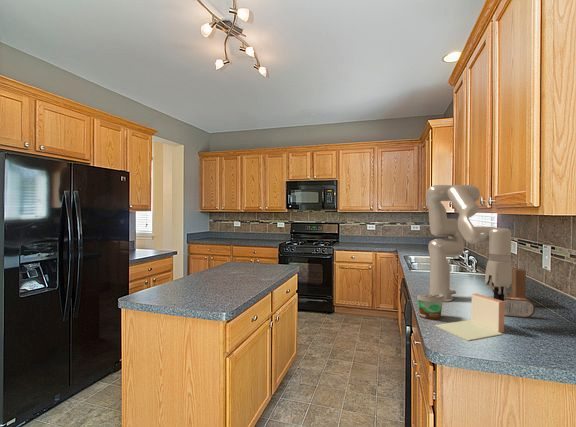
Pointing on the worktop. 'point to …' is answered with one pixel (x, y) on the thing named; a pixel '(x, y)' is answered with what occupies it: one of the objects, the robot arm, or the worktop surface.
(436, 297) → the food container
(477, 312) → the tile
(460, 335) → the mat
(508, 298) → the tin
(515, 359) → the worktop surface
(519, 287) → the wooden block
